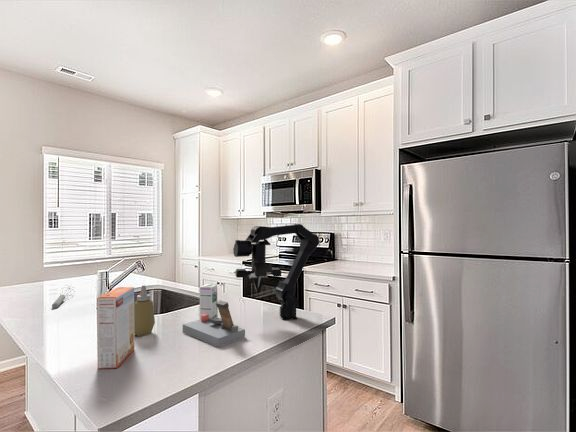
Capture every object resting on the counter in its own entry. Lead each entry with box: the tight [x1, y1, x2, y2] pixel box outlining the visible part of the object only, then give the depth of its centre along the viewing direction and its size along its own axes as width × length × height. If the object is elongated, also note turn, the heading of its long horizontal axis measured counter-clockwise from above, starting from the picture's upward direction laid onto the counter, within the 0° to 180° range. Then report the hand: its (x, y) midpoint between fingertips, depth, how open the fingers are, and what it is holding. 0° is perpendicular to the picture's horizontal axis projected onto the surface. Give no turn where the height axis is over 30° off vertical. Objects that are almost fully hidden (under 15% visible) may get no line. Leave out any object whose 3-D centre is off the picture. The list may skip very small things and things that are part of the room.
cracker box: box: [96, 286, 135, 370], centre depth 103 cm, size 14×6×21 cm, turn 5°
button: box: [201, 314, 209, 322], centre depth 131 cm, size 3×3×2 cm
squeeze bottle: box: [134, 284, 156, 337], centre depth 125 cm, size 8×8×18 cm
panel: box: [182, 317, 246, 348], centre depth 124 cm, size 12×22×5 cm, turn 49°
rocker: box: [208, 318, 223, 324], centre depth 127 cm, size 5×4×1 cm
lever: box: [216, 299, 235, 330], centre depth 120 cm, size 2×4×11 cm, turn 49°
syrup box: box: [199, 283, 219, 320], centre depth 144 cm, size 6×6×14 cm
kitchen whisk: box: [51, 284, 76, 310], centre depth 172 cm, size 6×34×6 cm, turn 23°
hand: (258, 293), depth 140 cm, fingers closed
